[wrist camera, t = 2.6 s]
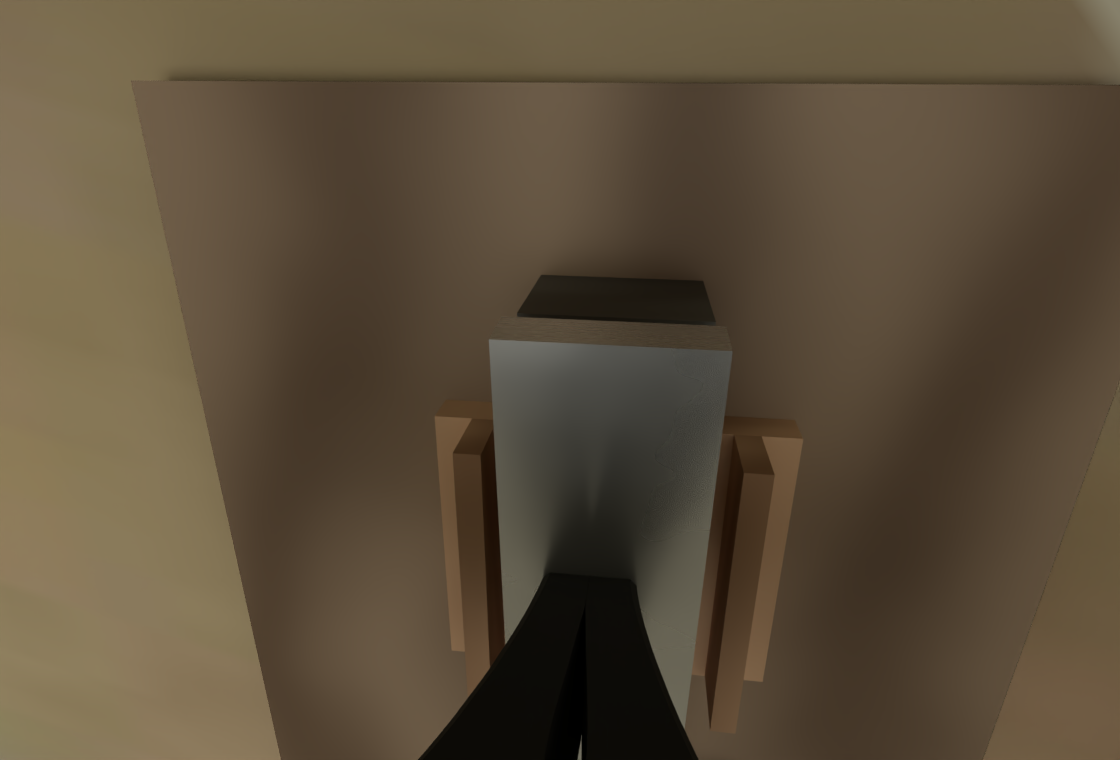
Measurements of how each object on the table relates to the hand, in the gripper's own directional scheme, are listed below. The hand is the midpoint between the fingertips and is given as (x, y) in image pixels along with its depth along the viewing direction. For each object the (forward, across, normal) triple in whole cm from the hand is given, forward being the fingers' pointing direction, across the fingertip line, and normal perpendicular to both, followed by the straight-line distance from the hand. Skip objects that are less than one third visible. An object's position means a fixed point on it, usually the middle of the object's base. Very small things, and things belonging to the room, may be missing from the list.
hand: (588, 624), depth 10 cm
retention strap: (+1, 0, +2) cm, 3 cm away
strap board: (+5, 0, +2) cm, 5 cm away
